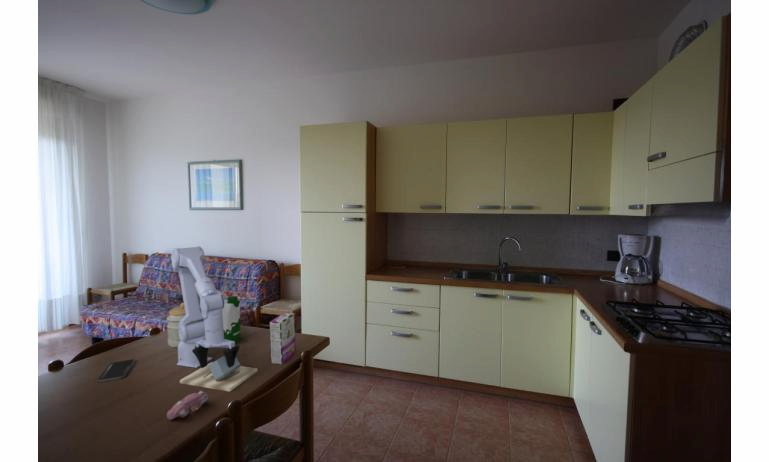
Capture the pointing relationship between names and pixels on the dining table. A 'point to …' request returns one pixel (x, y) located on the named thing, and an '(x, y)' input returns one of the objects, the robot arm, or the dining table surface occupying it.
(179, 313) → the jar
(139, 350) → the dining table surface
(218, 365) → the block
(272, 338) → the candy bar box
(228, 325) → the milk carton
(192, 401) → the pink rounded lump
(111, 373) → the phone
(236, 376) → the marked board
